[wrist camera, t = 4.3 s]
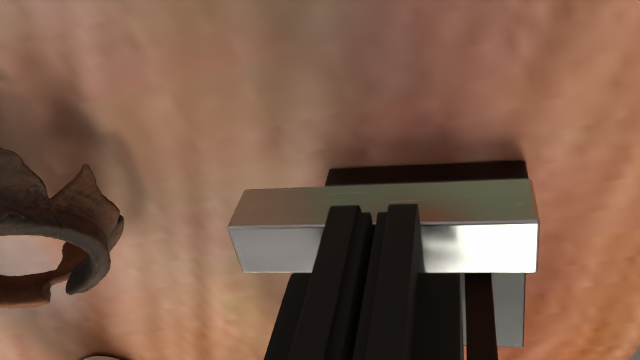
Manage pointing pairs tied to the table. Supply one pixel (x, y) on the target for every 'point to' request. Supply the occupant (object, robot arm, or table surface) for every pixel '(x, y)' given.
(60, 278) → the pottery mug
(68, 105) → the table surface
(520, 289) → the black lever stand
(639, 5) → the table surface
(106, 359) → the pill bottle
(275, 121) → the table surface
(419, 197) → the tap lever
